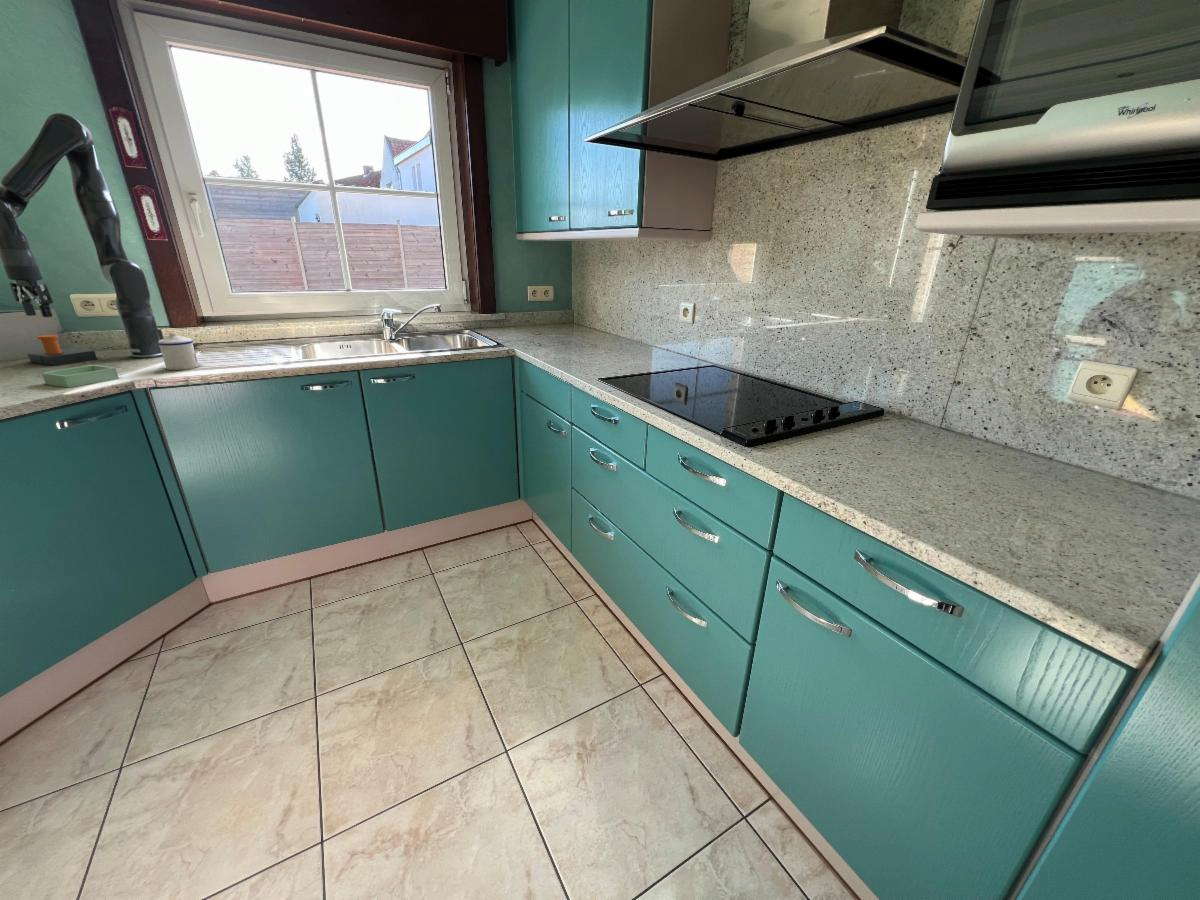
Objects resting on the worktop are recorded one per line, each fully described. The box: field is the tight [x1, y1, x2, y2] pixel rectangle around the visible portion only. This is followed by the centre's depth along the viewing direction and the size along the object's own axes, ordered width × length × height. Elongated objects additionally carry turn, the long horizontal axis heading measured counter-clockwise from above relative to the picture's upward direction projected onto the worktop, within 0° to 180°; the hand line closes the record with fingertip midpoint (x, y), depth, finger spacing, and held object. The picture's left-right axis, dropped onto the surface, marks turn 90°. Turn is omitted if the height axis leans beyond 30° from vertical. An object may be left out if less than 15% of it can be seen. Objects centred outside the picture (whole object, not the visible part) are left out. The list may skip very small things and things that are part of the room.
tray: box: [41, 364, 119, 388], centre depth 146 cm, size 12×10×3 cm
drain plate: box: [27, 347, 98, 366], centre depth 170 cm, size 12×12×3 cm
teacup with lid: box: [158, 331, 200, 371], centre depth 164 cm, size 12×9×12 cm
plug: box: [36, 334, 62, 354], centre depth 167 cm, size 5×5×9 cm
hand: (39, 316), depth 163 cm, fingers open, 8 cm apart
